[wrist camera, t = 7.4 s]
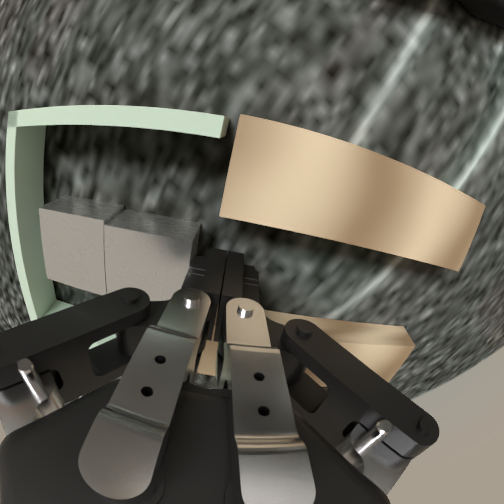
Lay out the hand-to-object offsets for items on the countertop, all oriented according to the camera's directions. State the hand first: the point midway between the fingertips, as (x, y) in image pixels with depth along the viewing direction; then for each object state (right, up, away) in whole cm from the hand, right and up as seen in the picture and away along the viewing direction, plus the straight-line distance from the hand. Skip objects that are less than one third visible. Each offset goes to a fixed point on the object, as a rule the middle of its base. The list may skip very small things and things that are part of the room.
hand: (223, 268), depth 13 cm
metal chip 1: (-7, +2, +1) cm, 8 cm away
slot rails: (+6, -1, +2) cm, 6 cm away
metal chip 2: (-3, +1, +1) cm, 4 cm away
